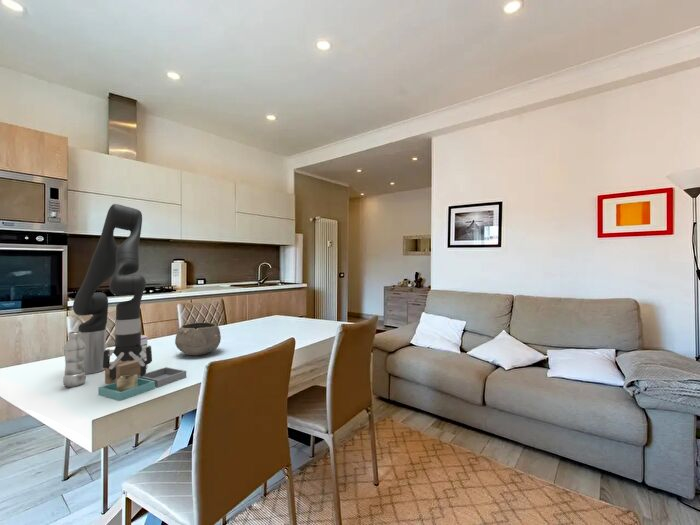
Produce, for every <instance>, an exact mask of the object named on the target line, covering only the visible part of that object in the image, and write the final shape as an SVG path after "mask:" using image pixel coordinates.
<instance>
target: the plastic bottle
mask: <svg viewBox="0 0 700 525" xmlns="http://www.w3.org/2000/svg"><path fill="white" fill-rule="evenodd" d="M80 337H81V332H80V331H71V332H68V335H67V338H68V340H66V342H65V343H64V345H63V348H62V349H63V355H64V362H65V363H64V364H65V365H64V366H65V367H64V375H63V378H62V379H63V380H62V383H63V385H64V387H66V388H73V387H79V386H82V385H84V383H85V381H86V374H85V372H84V364H83V363H84V360H83V359H84V352H85V343H84V341H83V340H82V339H81V338H80Z"/></svg>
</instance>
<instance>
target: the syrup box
mask: <svg viewBox="0 0 700 525" xmlns="http://www.w3.org/2000/svg"><path fill="white" fill-rule="evenodd" d="M141 347H148V336H147V335H144V334H143V335H142V334H141ZM140 355H141V356H142V357H143V359H144V360H145V361H146V360H147V358H146V353H144V351H141V353H140ZM148 366H149V364H147V365H146V370H148V369H147V368H148Z"/></svg>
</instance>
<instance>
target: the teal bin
mask: <svg viewBox="0 0 700 525" xmlns="http://www.w3.org/2000/svg"><path fill="white" fill-rule="evenodd" d="M155 389H156V387H155V381H151V380H146V379H142V378H138V384H137V387H135V388H132V389H129V390H126V391H123V392H119V391H117V382H115V383H112V384H105V385H102V386H99V387H98V395H97V396H100V397H104V398H107V399H111V400H115V401H118V402H120V401H123V400H124V401H125V400H127V399H129V398H132V397H136V396H137V395H141V394H144V393H146V392H149V391H152V390H155Z"/></svg>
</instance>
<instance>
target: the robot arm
mask: <svg viewBox="0 0 700 525" xmlns="http://www.w3.org/2000/svg"><path fill="white" fill-rule="evenodd" d="M142 225H143V214H142V211H140V209H137V208H133V207H130V206H127V205H122V204H119V203H118V204H117V203H113V204H112V205H111V206H110V207H109V209H108V211H107V214H106V216H105V220H104V224H103V228H102V230H101V234H100V238H99V239H98V240H99V241H98V243H97V246H96V248H95V250H94V253H93V255H92V257H91V260H90V263H89V266H88V269H87V272H86V275H85V277H84V279H83V282H82V284H81V285H80V287H79V289H78V291H77V293H76V295H75V296H74V300H73V304H72V310H73V312H74V314H75V315H76V316H90V315H92V316H91V317H90V318H89V319H88V320H86V321H84V322H83V323H81V324H79V325H78V331H80V332H81V337H80V338H81V339H82V340H83V341H84V343H85V352H84V359H83V360H84V363H83V364H84V372H85V375H87V374H88V375H89V374H95V373H100V372H103V371H105V368H108V369H109V370H110V379H111V378H112V380H115V379H116V368H115V366H116V365H117V364H118V362H119V361H120V360H121V361H122V362H123V361H133V360H134V359H135V360H136V361H137V362H138V363H139V364H140V365H141V367H140V376H141V377H143V376H144V375H145V374H146V373H147V369H146V365H147V364H148V365H150V364H151V363H152V362H153V356H152V354H153V353H152V352H153V351H152V346H151V345H147V347H141V335H142V330H141V329H142V327H141V326H142V324H141V323H142V322H141V302H142V298H143V294H144V292H145V289H146V284H147V281H146V279H145V277H144V276H143V275H141V274H136V273H137V272H138V271H139V269H140V264H139V263H140V259H139V250H140V248H139V247H140V239H141V234H142V233H141V232H142ZM115 229H120V230H124V231H128V232H130V234H129V236H128V237H127V238H126V239H125V240H124V241H123V242H121V244H119V246H118V245H117V242H116V240H115V236H114V232H115ZM110 279H111V280H110ZM108 280H110V283H109V291H110V293H111V294H112V295H114V296H133V297H132V298H131V299H129V300H125V301H122V302H118V303H117V304H116V307H115V326H114V349H110V348H108V349H107V348H106V347H107V342H106V341H107V337H106V336H107V333H106V332H107V330H106V329H107V323H108V313H109V312H108V311H109V298H108V296H107V295H106V294H105V293H104V292H96V291H97V290H98V289H99V288H100V287H101V286H102V285H103V284H105V283H106V282H107V281H108ZM141 351H144V353H146V358H147V360H146V361H145V360H144V359H143V357H142V356H141V355H140V353H141ZM113 354H114V355H115V357H116V358H115V359H114V362H113V361H112V362H113V363H112V364H109V362H111V361H110V360H111V356H112V355H113Z"/></svg>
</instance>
